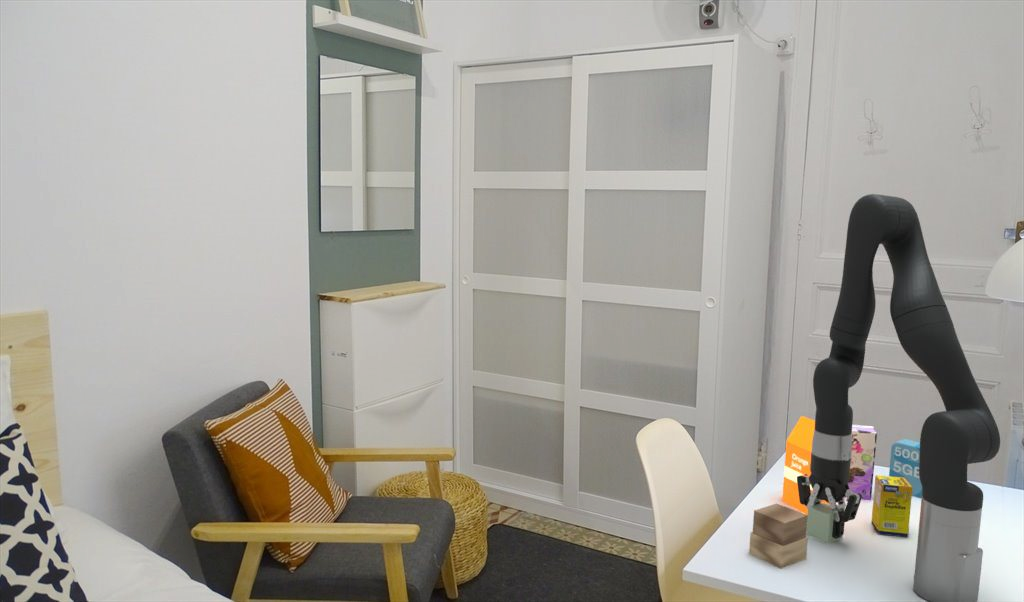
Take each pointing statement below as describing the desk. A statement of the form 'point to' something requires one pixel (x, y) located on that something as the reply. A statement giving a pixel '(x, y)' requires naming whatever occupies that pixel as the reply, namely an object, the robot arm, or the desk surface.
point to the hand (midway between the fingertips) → (824, 531)
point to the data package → (906, 463)
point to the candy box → (862, 460)
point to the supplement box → (891, 505)
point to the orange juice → (798, 461)
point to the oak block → (778, 551)
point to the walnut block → (780, 524)
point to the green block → (821, 523)
